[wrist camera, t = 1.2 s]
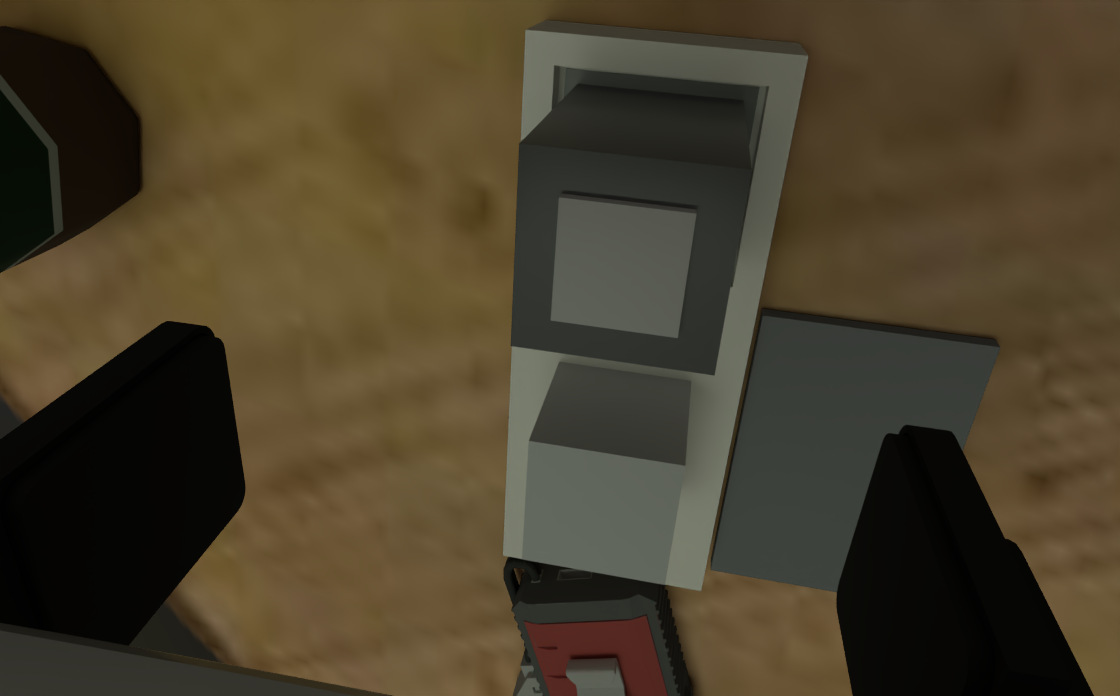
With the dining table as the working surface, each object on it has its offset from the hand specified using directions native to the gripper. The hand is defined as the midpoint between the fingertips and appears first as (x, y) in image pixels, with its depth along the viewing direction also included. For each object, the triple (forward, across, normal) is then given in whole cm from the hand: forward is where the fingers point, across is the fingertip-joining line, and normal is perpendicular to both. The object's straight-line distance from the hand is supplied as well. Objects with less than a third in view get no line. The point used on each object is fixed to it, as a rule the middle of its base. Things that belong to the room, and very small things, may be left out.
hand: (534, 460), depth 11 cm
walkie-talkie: (+19, -2, +27) cm, 33 cm away
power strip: (+18, -1, +6) cm, 19 cm away
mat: (+18, -9, +11) cm, 23 cm away
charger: (+16, -1, 0) cm, 16 cm away
